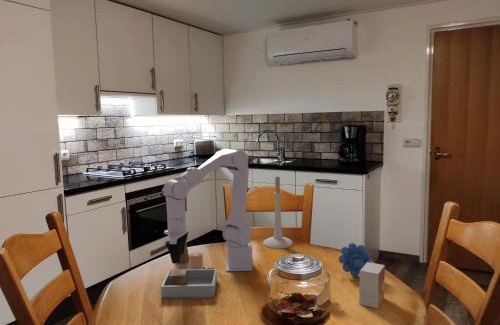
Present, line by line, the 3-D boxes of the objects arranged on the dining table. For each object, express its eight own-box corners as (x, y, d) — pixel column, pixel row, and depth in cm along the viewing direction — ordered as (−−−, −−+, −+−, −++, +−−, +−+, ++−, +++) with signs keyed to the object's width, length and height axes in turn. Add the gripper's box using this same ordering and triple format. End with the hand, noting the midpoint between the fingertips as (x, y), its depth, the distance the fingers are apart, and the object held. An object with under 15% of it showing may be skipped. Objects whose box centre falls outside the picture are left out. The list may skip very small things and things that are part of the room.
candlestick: (278, 237, 180) (277, 172, 176) (298, 243, 170) (298, 175, 167) (257, 243, 172) (256, 175, 168) (277, 250, 162) (277, 179, 158)
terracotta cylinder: (204, 270, 142) (203, 252, 142) (202, 276, 138) (201, 257, 137) (190, 271, 142) (190, 252, 142) (188, 276, 138) (188, 257, 137)
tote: (217, 280, 134) (216, 268, 134) (213, 297, 121) (213, 285, 121) (169, 280, 134) (169, 269, 134) (161, 298, 121) (160, 286, 121)
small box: (377, 309, 113) (378, 274, 111) (358, 304, 116) (359, 270, 114) (384, 298, 119) (385, 264, 118) (366, 293, 122) (366, 261, 121)
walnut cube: (187, 284, 130) (186, 269, 129) (185, 290, 125) (184, 275, 125) (172, 284, 130) (171, 269, 129) (169, 291, 125) (168, 276, 125)
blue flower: (342, 282, 131) (342, 247, 129) (336, 274, 137) (337, 241, 136) (376, 281, 131) (377, 246, 130) (369, 273, 138) (370, 240, 136)
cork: (191, 257, 156) (190, 230, 154) (187, 263, 150) (186, 235, 148) (176, 257, 156) (175, 230, 155) (171, 263, 150) (170, 235, 149)
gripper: (168, 212, 132) (170, 250, 134) (158, 224, 118) (160, 267, 119) (189, 211, 132) (190, 250, 134) (182, 223, 118) (183, 267, 119)
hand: (178, 258), depth 126 cm, fingers open, 7 cm apart
